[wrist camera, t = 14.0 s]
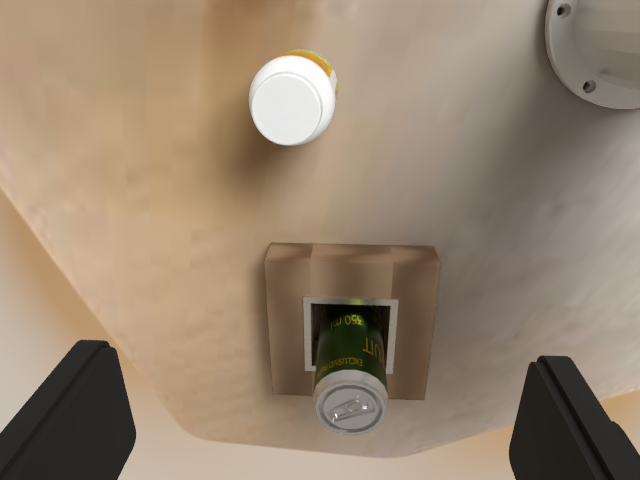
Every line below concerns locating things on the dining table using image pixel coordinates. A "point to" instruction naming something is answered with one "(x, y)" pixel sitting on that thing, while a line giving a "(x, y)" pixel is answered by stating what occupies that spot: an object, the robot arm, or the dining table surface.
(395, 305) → the jig bore mouth
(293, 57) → the supplement bottle
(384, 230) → the dining table surface
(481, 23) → the dining table surface
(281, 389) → the block
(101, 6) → the dining table surface
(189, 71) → the dining table surface
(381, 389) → the beer can
